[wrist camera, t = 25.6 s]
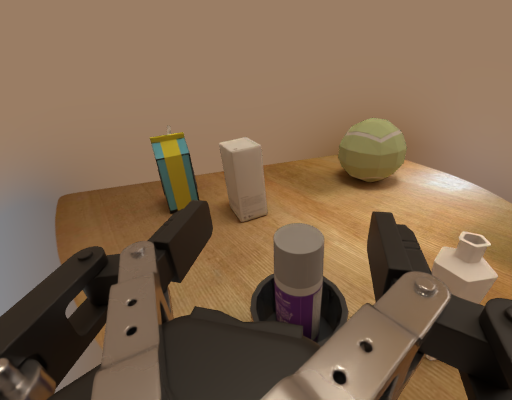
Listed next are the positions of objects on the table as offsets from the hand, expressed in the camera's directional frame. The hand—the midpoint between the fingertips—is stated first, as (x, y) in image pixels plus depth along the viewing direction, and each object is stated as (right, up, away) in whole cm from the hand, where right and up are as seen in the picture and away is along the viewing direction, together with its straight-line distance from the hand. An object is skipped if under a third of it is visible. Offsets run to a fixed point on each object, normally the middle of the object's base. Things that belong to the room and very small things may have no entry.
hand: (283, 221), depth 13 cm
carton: (-19, 0, +51) cm, 54 cm away
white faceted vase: (+18, -16, +17) cm, 29 cm away
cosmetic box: (-3, -2, +45) cm, 45 cm away
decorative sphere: (+28, +7, +55) cm, 62 cm away
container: (+4, -16, +17) cm, 24 cm away
